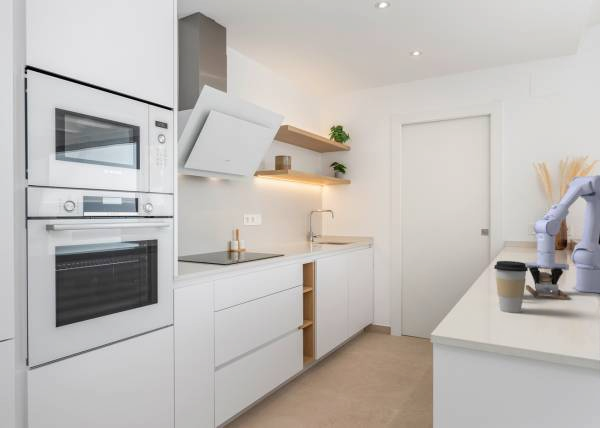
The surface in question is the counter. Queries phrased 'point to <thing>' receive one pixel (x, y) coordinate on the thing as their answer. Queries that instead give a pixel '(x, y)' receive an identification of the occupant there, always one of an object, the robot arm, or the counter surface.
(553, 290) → the pusher plate
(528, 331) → the counter surface
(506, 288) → the coffee cup
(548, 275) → the jar
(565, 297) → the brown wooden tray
